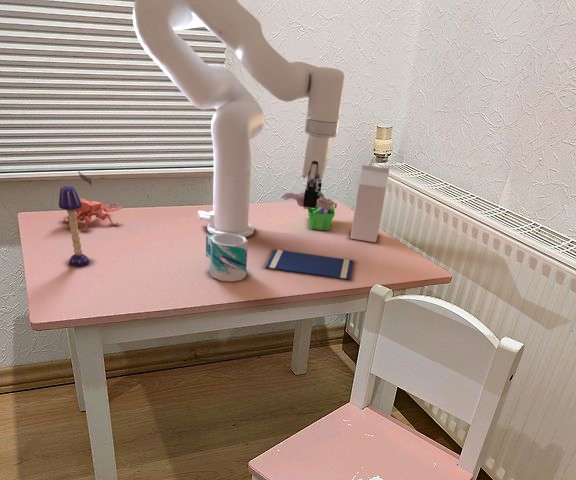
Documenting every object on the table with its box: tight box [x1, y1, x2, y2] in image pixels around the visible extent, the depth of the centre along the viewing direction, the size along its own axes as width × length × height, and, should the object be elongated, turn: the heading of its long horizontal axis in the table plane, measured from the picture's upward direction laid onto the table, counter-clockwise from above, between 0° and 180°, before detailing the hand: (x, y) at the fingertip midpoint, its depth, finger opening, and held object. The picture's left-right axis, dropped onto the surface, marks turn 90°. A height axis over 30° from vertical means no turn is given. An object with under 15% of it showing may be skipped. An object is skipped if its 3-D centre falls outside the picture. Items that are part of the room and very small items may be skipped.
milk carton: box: [350, 164, 390, 243], centre depth 156 cm, size 7×7×19 cm
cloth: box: [265, 248, 354, 281], centre depth 141 cm, size 20×12×1 cm, turn 81°
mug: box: [205, 233, 249, 282], centre depth 131 cm, size 8×12×8 cm
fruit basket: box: [307, 191, 336, 231], centre depth 163 cm, size 11×9×11 cm
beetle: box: [62, 170, 123, 233], centre depth 149 cm, size 15×12×13 cm
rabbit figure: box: [281, 187, 338, 210], centre depth 144 cm, size 6×6×15 cm
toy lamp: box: [58, 185, 90, 267], centre depth 126 cm, size 5×5×17 cm
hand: (311, 201), depth 145 cm, fingers closed on rabbit figure, 7 cm apart
